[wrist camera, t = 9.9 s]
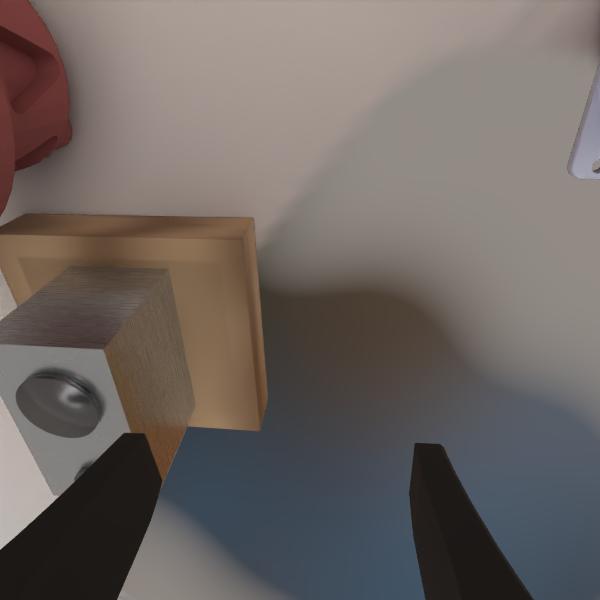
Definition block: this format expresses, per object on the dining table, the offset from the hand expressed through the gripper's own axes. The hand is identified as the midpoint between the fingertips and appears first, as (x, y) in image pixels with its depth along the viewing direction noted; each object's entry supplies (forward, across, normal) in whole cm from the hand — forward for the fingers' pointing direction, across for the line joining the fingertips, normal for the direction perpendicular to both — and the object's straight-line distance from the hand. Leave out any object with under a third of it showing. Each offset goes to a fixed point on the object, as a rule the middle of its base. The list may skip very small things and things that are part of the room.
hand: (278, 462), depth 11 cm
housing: (+8, +8, +2) cm, 11 cm away
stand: (+10, +8, +2) cm, 13 cm away
